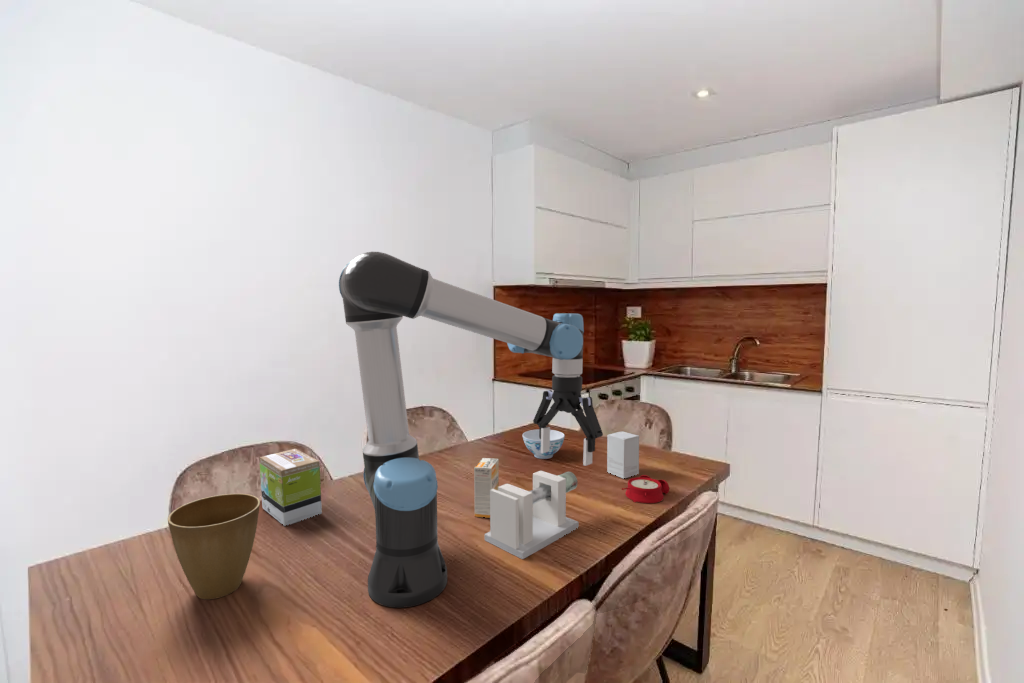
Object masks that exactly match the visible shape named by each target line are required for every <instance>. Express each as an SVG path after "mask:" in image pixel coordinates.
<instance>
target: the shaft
mask: <svg viewBox="0 0 1024 683" xmlns="http://www.w3.org/2000/svg"><path fill="white" fill-rule="evenodd" d="M557 476H560V477H563V478H566V494H568V493H569V492H571V491H573V490H575V489H576V488H577V487H578V484H579V483H578V478H577V476H576V474H574V473H573V472H572V471H565V472H564V473H561V474H558V475H557ZM528 491H529V492H532V493H533V504H535V503H537V502H539V501H541V500H543V499H546V498H548V497H550V496H551V486H549V485H547V484H545V485H543V486H541V487H538V488H536V489H534V490H533V489H532V490H528Z"/></svg>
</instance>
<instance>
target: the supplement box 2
mask: <svg viewBox="0 0 1024 683" xmlns="http://www.w3.org/2000/svg"><path fill="white" fill-rule="evenodd" d="M606 438H607V444H606V445H607V446H606V447H607V448H606V449H607V450H606V452H607V453H606V460H607V462H606V467H607V468H606V469H607V470H606V473H607V472H608V473H607V474H610V473H611V475H613V476H615V475H616V477H618V478H621V479H624V478H625V479H627V478H631V476H632V477H634V475H635V476H638V475H639V474H640V435H638V434H634V433H630V432H626V431H623V430H622V431H617V432H613V433H609V434H607V436H606ZM637 474H638V475H637Z"/></svg>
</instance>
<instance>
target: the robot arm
mask: <svg viewBox="0 0 1024 683" xmlns="http://www.w3.org/2000/svg"><path fill="white" fill-rule="evenodd" d="M338 279H339V280H338V290H339V293H340V296H341V298H342V304H343V310H344V317H345V318H344V319H345V324H346V325H348V327H349V328H351V329H352V330H353V332H354V336H355V343H356V353H357V358H358V360H357V361H358V366H359V376H360V385H361V391H362V392H361V393H362V400H363V407H364V414H365V422H366V430H367V438H368V441H367V442H366V443H365V445H364V446H363V448H362V450H361V452H362V457H363V466H364V467H363V473H362V474H363V476H362V477H363V482H364V485H365V488H366V490H367V492H368V495H369V497H370V500H371V502H372V507H373V509H374V516H375V541H376V542H375V543H376V544H375V546H376V547H375V548H376V549H375V553H374V555H373V559H372V563H371V567H370V571H369V573H368V576H367V593H368V596H369V597H370V598H371V600H372V601H374V602H375V603H377V604H379V605H381V606H383V607H390V608H409V607H414V606H419V605H422V604H425V603H427V602H429V601H432V600H433V599H435V598H436V597H438V596H439V595H440V594H441V593H443V591H444V590H445V589H446V586H447V583H448V567H447V564H446V561H445V559H444V556H443V552H442V551H441V548H440V545H439V542H438V489H439V486H438V479H437V472H436V470H435V468H434V466H433V465H432V464H431V463H430V462H428V461H426V460H424V459H421V460H420V455H419V447H418V440H417V439H416V438H415V437H414V436H413V435H411V434H410V430H409V421H408V413H407V405H406V396H405V389H404V388H405V387H404V380H403V371H402V370H403V369H402V363H401V352H400V346H399V345H400V344H399V337H398V336H399V335H398V328H397V327H398V325H399V324H400V322H401V321H402V320H403V318H404V317H405V318H408V319H412V320H415V319H417V318H418V317H424V318H427V319H428V320H429V319H430V320H432V321H437V322H438V323H443V324H445V325H448V326H452V327H455V328H459V329H461V330H462V329H463V330H465V331H468V332H472V333H474V334H477V335H480V336H485V337H488V338H491V339H494V340H497V341H500V342H504V343H506V344H507V347H508V349H509V351H510V352H511V353H514V354H516V353H517V354H522V355H523V354H527V353H528V354H535V355H540V356H544V357H545V356H546V357H550V358H552V361H551V362H552V367H551V368H552V369H551V370H552V371H551V373H552V374H554V375H552V378H551V389H552V390H551V389H550V390H544V391H543V392H542V399H541V401H540V403H539V407H538V408H537V411H536V413H535V416H534V418H533V420H532V422H533V424H535V425H537V426H538V428H539V438H540V439H541V453H545V452H549V451H550V430H551V427H550V426H549V424H550V423H551V422H552V421H553V419H554V418H555V416H556V415H557V414H558V412H565V413H567V414H571V415H572V416H573V417H574V419H575V420H576V422H577V423H578V425H579V427H580V428H581V430H582V432H583V434H584V435H585V438H583V454H582V455H583V456H582V457H583V459H582V463H583V464H582V466H586V467H587V466H589V465H593V453H594V452H595V451H596V439H597V438H601V437H603V436H604V433H603V430H602V427H601V425H600V422H599V419H598V417H597V413H596V412H595V411H596V410H595V408H594V406H593V398H592V397H591V396H587V397H582V394H581V393H582V390H583V377H582V374H583V353H584V333H585V330H584V327H585V326H584V317H583V315H582V314H580V313H572V312H571V313H569V312H568V313H557V312H556V313H554V314H553V315H552V316H553V317H552V319H549V318H546V317H544V316H541V315H538V314H535V313H533V312H529V311H526V310H524V309H521V308H518V307H515V306H513V305H509V304H507V303H503V302H501V301H498V300H496V299H493V298H490V297H487V296H484V295H481V294H478V293H477V292H476V293H475V292H472V291H470V290H466V289H464V288H462V287H458V286H456V285H453V284H450V283H447V282H444V281H442V280H438V279H436V278H433V275H432V274H431V272H430V270H426V269H424V268H421V267H420V266H415V265H414V264H411V263H409V262H406V261H404V260H401V259H400V258H397V257H395V256H393V255H391V254H388V253H385V252H382V251H368V252H363V253H362V254H359V255H357V256H355V258H353V259H352V260H351V261H349V262H348V263H347V264H346V265H345V266H344V267H343V269H342V271H341V273H340V275H339V278H338ZM552 401H553V403H552ZM551 403H552V404H551ZM550 405H551V406H550ZM549 407H550V408H549Z"/></svg>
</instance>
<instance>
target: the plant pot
mask: <svg viewBox="0 0 1024 683" xmlns="http://www.w3.org/2000/svg"><path fill="white" fill-rule="evenodd" d="M260 504H261V501H260V498H258V496H255V495H253V494H248V493H226V494H225V493H224V494H217V495H212V496H208V497H203V498H199V499H195V500H192V501H190V502H188V503H187V502H186V503H185V504H182V505H180V506H179V507H177V508H176V509H174V510H172V512H170V513H169V515H168V516H167V522H168V526H169V527H168V528H169V531H170V532H169V533H170V535H171V536H170V537H171V540H172V543H173V546H174V550H175V553H176V556H177V558H178V561H179V563H180V566H181V569H182V571H183V572H184V575H185V577H186V579H187V581H188V583H189V585H190V587H191V588H192V590H193V592H194V594H195V595H196V596H197V597H198V598H199V599H201V600H216V599H219V598H223V597H226V596H228V595H230V594H232V593H233V592H235V591H236V590H237V589H238V588H239V587H240V586H241V583H242V582H243V579H244V576H245V573H246V570H247V567H248V564H249V561H250V557H251V555H252V550H253V546H254V542H255V539H256V538H255V537H256V533H257V527H258V522H259V513H260Z"/></svg>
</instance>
